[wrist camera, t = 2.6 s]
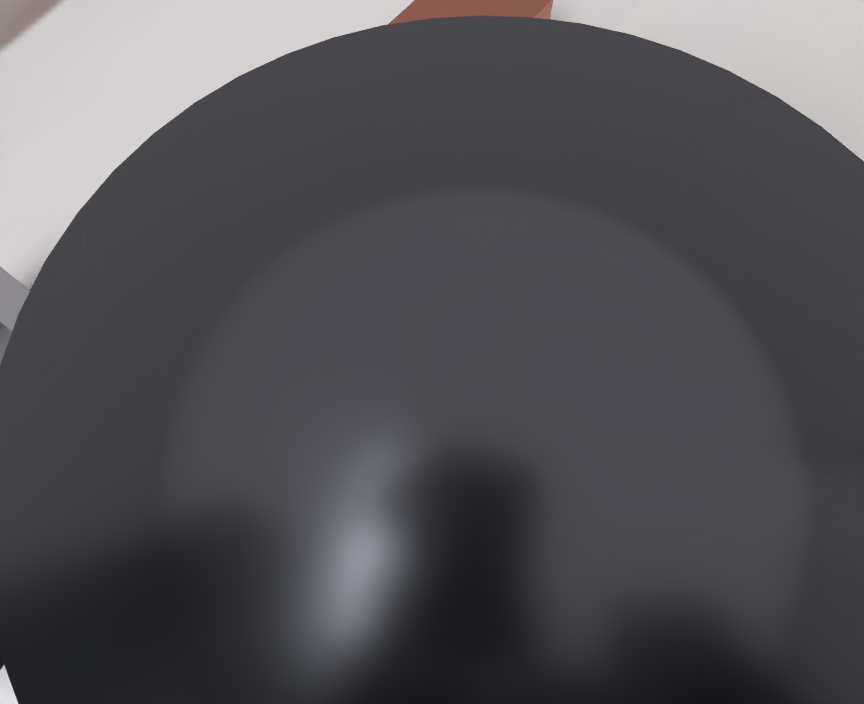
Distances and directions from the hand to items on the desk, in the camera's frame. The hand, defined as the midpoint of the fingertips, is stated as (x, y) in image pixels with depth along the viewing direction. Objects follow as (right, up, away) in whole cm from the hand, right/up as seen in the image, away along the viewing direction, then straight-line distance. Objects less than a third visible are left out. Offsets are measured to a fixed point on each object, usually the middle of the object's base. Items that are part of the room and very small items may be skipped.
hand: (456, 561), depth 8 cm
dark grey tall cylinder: (0, -3, +8) cm, 8 cm away
